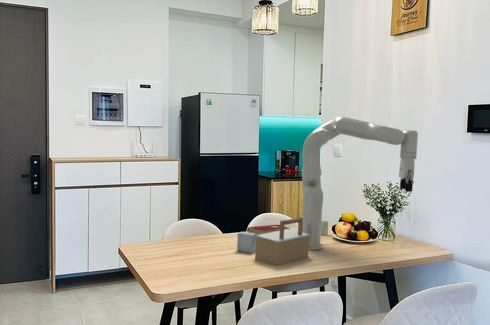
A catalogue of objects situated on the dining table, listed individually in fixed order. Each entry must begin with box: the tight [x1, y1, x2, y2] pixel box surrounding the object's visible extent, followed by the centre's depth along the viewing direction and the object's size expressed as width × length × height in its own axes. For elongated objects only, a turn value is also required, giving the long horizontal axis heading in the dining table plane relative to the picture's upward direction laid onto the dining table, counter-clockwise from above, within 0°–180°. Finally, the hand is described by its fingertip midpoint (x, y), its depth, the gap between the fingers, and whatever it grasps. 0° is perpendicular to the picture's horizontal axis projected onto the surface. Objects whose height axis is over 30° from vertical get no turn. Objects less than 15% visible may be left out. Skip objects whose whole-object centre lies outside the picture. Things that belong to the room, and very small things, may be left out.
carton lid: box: [256, 216, 309, 243], centre depth 206 cm, size 13×22×9 cm, turn 135°
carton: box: [254, 236, 310, 267], centre depth 207 cm, size 13×22×10 cm, turn 135°
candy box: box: [321, 220, 329, 237], centre depth 257 cm, size 16×2×8 cm, turn 83°
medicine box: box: [236, 231, 256, 254], centre depth 216 cm, size 8×4×9 cm, turn 65°
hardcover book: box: [246, 223, 291, 235], centre depth 254 cm, size 12×21×4 cm, turn 121°
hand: (405, 190), depth 223 cm, fingers open, 9 cm apart
